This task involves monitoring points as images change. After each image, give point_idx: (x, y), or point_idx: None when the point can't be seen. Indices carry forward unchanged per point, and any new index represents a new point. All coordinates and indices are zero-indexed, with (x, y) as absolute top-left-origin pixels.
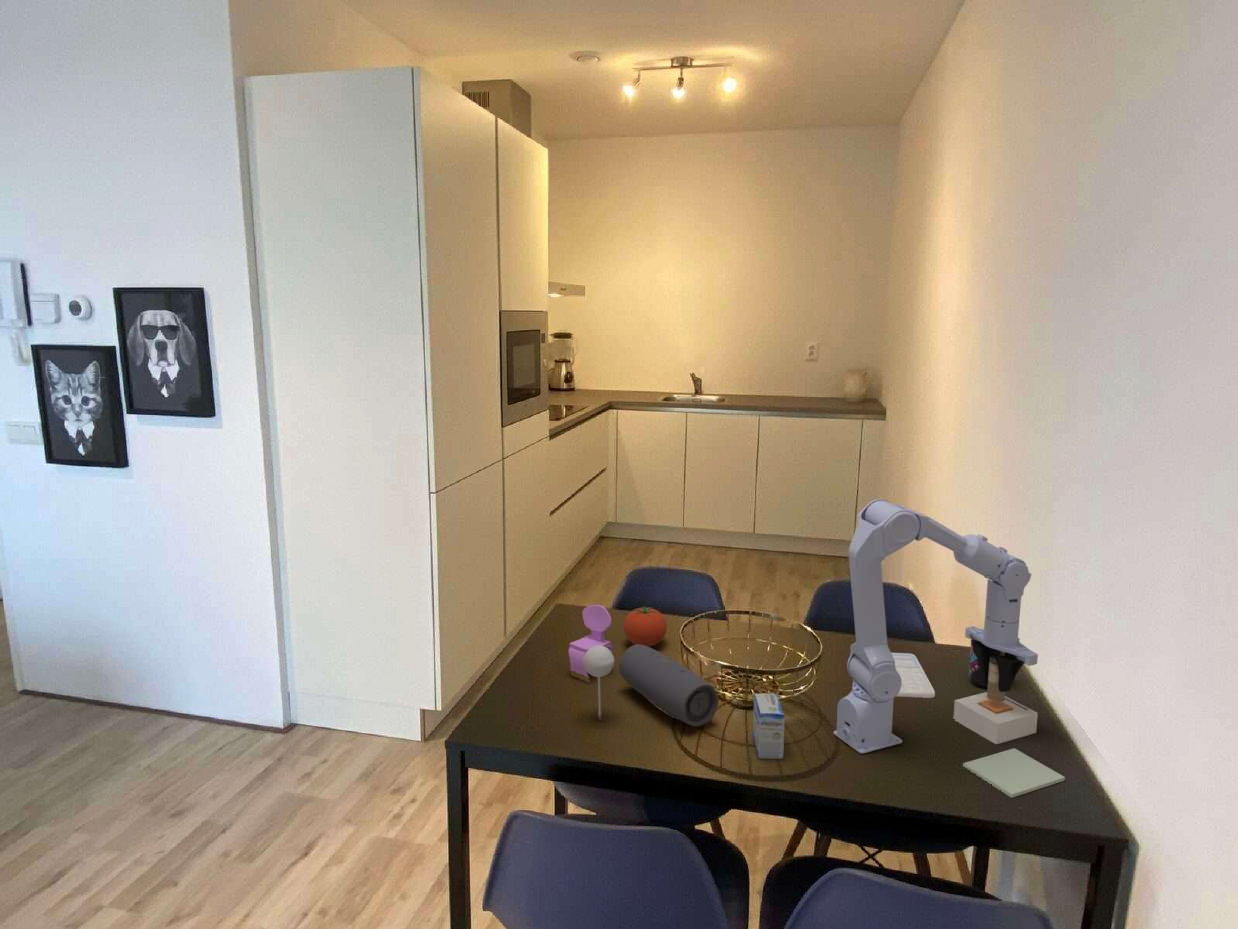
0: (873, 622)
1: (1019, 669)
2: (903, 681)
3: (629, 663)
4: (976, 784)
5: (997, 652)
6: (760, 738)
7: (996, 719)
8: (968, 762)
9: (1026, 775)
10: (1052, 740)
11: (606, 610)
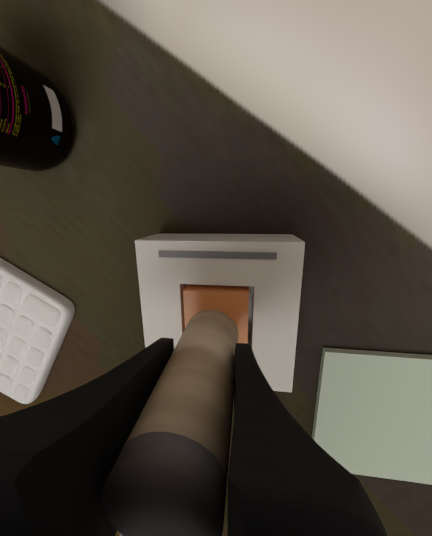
0: None
1: (294, 420)
2: (4, 327)
3: None
4: (361, 484)
5: (79, 458)
6: None
7: (273, 377)
8: None
9: (411, 417)
10: (337, 227)
11: None
